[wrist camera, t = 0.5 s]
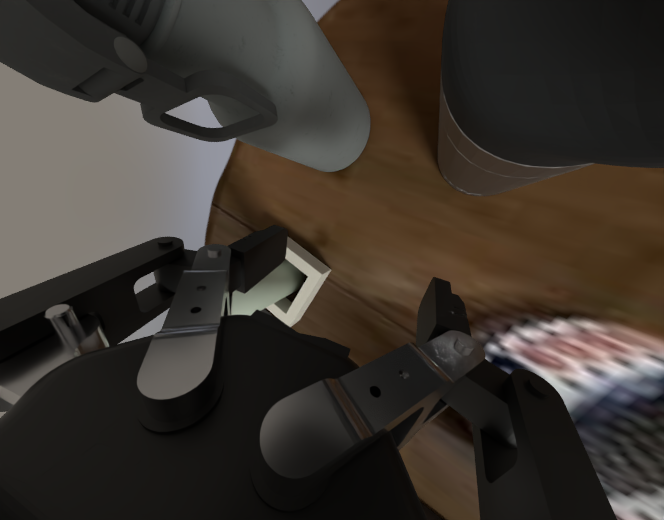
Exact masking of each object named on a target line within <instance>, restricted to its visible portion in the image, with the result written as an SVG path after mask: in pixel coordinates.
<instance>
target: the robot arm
mask: <svg viewBox="0 0 664 520" xmlns="http://www.w3.org/2000/svg"><path fill="white" fill-rule="evenodd" d="M595 163H597V164H606V165H615V166H627V167H645V168H664V0H449V1H448V5H447V10H446V15H445V22H444V30H443V38H442V59H441V83H440V112H439V135H438V165H439V170H440V172H441V174H442V176H443V178H444V179H445V180H446V181H447V183H448V184H449V185H450V186H452V187H453V188H454V189H456V190H457V191H460V192H462V193H464V194H468V195H473V196H489V195H495V194H499V193H502V192H505V191H509V190H512V189H516V188H519V187H522V186H525V185H528V184H532V183H535V182H538V181H541V180H545V179H548V178H551V177H554V176H558V175H561V174H564V173H567V172H570V171H574V170H577V169H580V168H582V167H586V166H589V165H592V164H595ZM287 238H288V231H287V229H285V228H282V227H279V226H276V225H272V226H271V227H269V228H267V229H265V230H262V231H257V232H254V233H252V234H250V235H248V236H246V237H244V238H243V239H240V240H238V241H236V242H234V243H232V244H230V245H228V246H224V245H219V244H212V245H206V246H203V247H201V248H200V249H199V250H198V251H193V250H186V249H184V244H183V241H182V240H181V239H179V238H176V237H160V238H155V239H152V240H150V241H147V242H145V243H142V244H140V245H137V246H135V247H132V248H129V249H127V250H124V251H122V252H119V253H117V254H114V255H112V256H109V257H106V258H104V259H101V260H99V261H96V262H94V263H91V264H88V265H86V266H83V267H81V268H78V269H76V270H73V271H71V272H68V273H66V274H63V275H60V276H58V277H55V278H53V279H50V280H47V281H45V282H42V283H40V284H37V285H35V286H32V287H30V288H27V289H25V290H22V291H19V292H17V293H14V294H12V295H9V296H7V297H4V298H1V299H0V412H5V411H7V412H6V413H5V414H4V415H3V416H2V417H1V418H0V520H427V517H426V515H425V513H424V510H423V508H422V505H421V503H420V501H419V498H418V496H417V493H416V491H415V489H414V486H413V484H412V481H411V479H410V477H409V474H408V472H407V470H406V467H405V465H404V462H403V460H402V458H401V455H400V453H399V450H400V449H401V448H403V447H404V446H405V445H406V444H407V443H408V442H409V441H410V440H411V439H412V437H413V436H414V435H415V434H416V433H417V432H418V431H419V430H420V429H422V428H423V427H424V426H425V425H426V424H428V423H429V422H430V421H431V420H432V419H434V418H435V417H436V416H437V415H439V414H440V413H441V412H442V411H443V410H445V409H446V408H447V407H448V406H451V407H452V408H453V409H455V410H456V411H457V412H459V413H460V414H461V415H463V416H464V417H465V418H467V419H468V420H469V421H471V422H472V429H473V441H474V452H475V463H476V475H477V486H478V497H479V509H480V520H617V518H616V516H615V514H614V512H613V509H612V507H611V505H610V503H609V501H608V498H607V496H606V494H605V492H604V490H603V487H602V485H601V483H600V481H599V479H598V476H597V474H596V472H595V470H594V468H593V465H592V463H591V461H590V459H589V456H588V454H587V452H586V450H585V448H584V445H583V443H582V441H581V439H580V437H579V434H578V432H577V430H576V428H575V426H574V423H573V421H572V419H571V417H570V415H569V412H568V410H567V408H566V406H565V404H564V401H563V399H562V397H561V396H560V394H559V393H558V392H557V391H556V389H555V388H554V387H553V386H552V385H550V384H549V383H548V382H547V381H546V380H544V379H543V378H541V377H540V376H538V375H537V374H535V373H533V372H530V371H528V370H524V369H516V370H514V371H513V372H512V373H511V374H508V373H506V372H505V371H503V370H501V369H500V368H498V367H496V366H495V365H493V364H492V363H490V362H489V361H487V360H486V359H485V352H484V350H483V348H482V346H481V345H480V344H479V343H478V342H477V341H476V340H475V339H473V338H472V337H471V333H470V328H469V323H468V319H467V314H466V312H465V311H466V309H465V305H464V302H463V301H462V300H461V298H460V297H459V296H458V295H455V294H452V292H451V285H450V282H448V281H445V280H442V279H439V278H436V277H433V278H432V280H431V282H430V284H429V286H428V289H427V291H426V293H425V295H424V297H423V299H422V301H421V304H420V307H419V310H418V320H417V335H416V345H415V344H414V343H408V344H406V345H404V346H402V347H400V348H398V349H396V350H394V351H392V352H390V353H388V354H386V355H384V356H382V357H380V358H378V359H376V360H374V361H372V362H370V363H368V364H366V365H364V366H362V367H359V366H358V365H357V364H356V363H355V362H354V361H352V360H351V359H350V358H349V357H348V355H349V352H350V349H349V348H347V347H345V346H342V345H340V344H338V343H335V342H333V341H331V340H328V339H326V338H321V337H316V336H311V335H306V334H301V333H298V332H296V331H295V330H293V329H292V328H291V327H289V326H288V325H286V324H285V323H284V322H282V321H281V320H280V319H278V318H276V317H274V316H271V315H269V314H267V313H264V312H262V311H259V310H256V311H255V312H254V313H253V314H252V315H251V316H250V315H232V305H233V292H234V291H235V290H236V291H239V292H241V293H244V294H245V293H247V292H248V291H249V290H250V289H251V288H253V287H254V286H255V285H256V284H258V283H259V282H260V281H261V280H262V279H264V278H265V277H266V276H267V275H268V274H270V273H271V272H272V271H273V270H275V269H276V268H277V267H278V266H279V265H281V264H282V263H283V261H284V259H285V257H286V250H287ZM151 272H154V276H155V280H156V283H155V284H153V285H151V286H149V287H148V288H146V289H144V290H142V291H140V292H139V293H137V294H135V293H134V285H135V283H136V281H137V280H138V279H140V278H141V277H143V276H145V275H147V274H149V273H151ZM168 308H170V309H169V311H168V314H167V317H166V319H165V322H164V324H163V327H162V329H161V331H160V332H157V333H156V334H155V335H151V336H148V337H144V338H140V339H136V340H132V341H129V342H125V343H121V344H118V343H120V342H121V341H123V340H124V339H125V338H127V337H128V336H130V335H131V334H132V333H134V332H135V331H137V330H138V329H140V328H141V327H143V326H144V325H145V324H147V323H148V322H150V321H151V320H153V319H154V318H156V317H157V316H158V315H160V314H161V313H163V312H164V311H166V310H167V309H168Z"/></svg>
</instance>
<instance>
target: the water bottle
mask: <svg viewBox="0 0 664 520" xmlns="http://www.w3.org/2000/svg"><path fill="white" fill-rule="evenodd" d="M0 62H1V63H3V64H5V65H7V66H9V67H10V68H12V69H14V70H16V71H18V72H19V73H21V74H23V75H25V76H26V77H28V78H30V79H32V80H34V81H35V82H37V83H39V84H41V85H43V86H46V87H49V88H51V89H54V90H57V91H59V92H62V93H64V94H67V95H70V96H73V97H76V98H79V99H83V100H86V101H89V102H99V101H101V100H102V99H104V98H106V97H108V96H109V95H111V94H113V93H116V94H119V95H121V96H124V97H126V98H129V99H132V100H135V101H137V102H140V103H141V104H140V105H141V110H142V114H143V118H144V120H145V121H147V122H148V123H150V124H152V125H154V126H158V127H160V128H164V129H167V130H170V131H173V132H177V133H180V134H183V135H186V136H189V137H193V138H196V139H199V140H203V141H208V142H221V141H226V140H229V139H232V138H237V139H238V140H240V141H242V142H244V143H247V144H250V145H252V146H255V147H258V148H260V149H263V150H266V151H268V152H271V153H274V154H277V155H279V156H282V157H285V158H287V159H290V160H293V161H295V162H298V163H301V164H303V165H306V166H309V167H312V168H314V169H317V170H320V171H324V172H334V171H338V170H341V169H344V168H345V167H347V166H349V165H350V164H352V163H353V162H354V161H355V160H356V159H357V158H358V157H359V155H360V154H361V153H362V151H363V149H364V148H365V146H366V143H367V140H368V138H369V132H370V114H369V109H368V106H367V104H366V101H365V100H364V98H363V96H362V95H361V93H360V92H359V90H358V88H357V87H356V85H355V84H354V82H353V80H352V79H351V77H350V75H349V74H348V72H347V71H346V69H345V67H344V66H343V64H342V63H341V61H340V59H339V58H338V56H337V55H336V53H335V51H334V50H333V48H332V46H331V45H330V43H329V42H328V40H327V38H326V37H325V35H324V34H323V32H322V30H321V29H320V27H319V26H318V24H317V22H316V21H315V19H314V18H313V16H312V14H311V13H310V11H309V10H308V8H307V7H306V6H305V4H304V3H303V2H302V0H0ZM198 97H202V98H204V99H206V100H208V103H209V105H210V108H211V110H212V112H213V114H214V115H215V117H216V118H217V120H218V122H219V123H220V124H221V125H222V126H223V127H222V128H206V127H201V126H198V125H195V124H192V123H189V122H186V121H184V120H181V119H179V118H176V117H173V116H170V115H168V114H166V113H165V112H167V111H169V110H171V109H173V108H175V107H178V106H180V105H182V104H184V103H186V102H189V101H191V100H193V99H195V98H198Z"/></svg>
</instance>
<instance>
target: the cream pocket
mask: <svg viewBox="0 0 664 520" xmlns="http://www.w3.org/2000/svg"><path fill="white" fill-rule="evenodd" d="M285 259H287V260H288V261H289V262H290V263H292V264H293V265H294V266H295V267H297V268H298V269H299V270H300V271H302V272H303V273H304V274H305V275H307V276H308V278H307V279H306V281H305V283H304V284H303V286H302V288H301V289H300V291H299V293H298V294H297V296H296V298H295V300H294V301H293V303H292V302H291V301H290V300H288V299H287V298H286V297H284V298H282V299H281V300H279V301H277V302H275V303H273V304H272V305H270V306H268V307H266V308H267V309H268V310H269V311H270V312H271V313H273V314H274V315H275V316H276V317H277V318H278V319H280V320H281V321H282V322H284V323H285V324H286V325H288V326H289V327H291V326H293V325H294V324H295V323H296V322H298V321H299V320H300V319H301V317H302V316H303V314H304V312H305V311H306V309H307V308H308V306H309V304H310V303H311V301H312V300H313V298H314V296H315V295H316V293H317V292H318V290H319V289H320V287H321V285H322V284H323V282H324V281H325V279H326V277H327V276H328V274H329V273H330V271H331V269H330V268H329V267H327V266H326V265H325V264H323V263H322V262H321V261H319V260H318V259H317V258H315V257H314V256H313V255H312V254H310V253H309V252H308V251H306V250H305V249H304V248H302V247H301V246H300V245H298V244H297V243H296V242H295V241H293V240H292V239H291V238H289V237H288V238H287V250H286V257H285Z"/></svg>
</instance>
